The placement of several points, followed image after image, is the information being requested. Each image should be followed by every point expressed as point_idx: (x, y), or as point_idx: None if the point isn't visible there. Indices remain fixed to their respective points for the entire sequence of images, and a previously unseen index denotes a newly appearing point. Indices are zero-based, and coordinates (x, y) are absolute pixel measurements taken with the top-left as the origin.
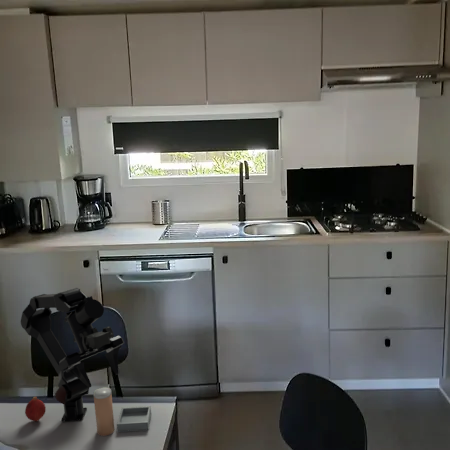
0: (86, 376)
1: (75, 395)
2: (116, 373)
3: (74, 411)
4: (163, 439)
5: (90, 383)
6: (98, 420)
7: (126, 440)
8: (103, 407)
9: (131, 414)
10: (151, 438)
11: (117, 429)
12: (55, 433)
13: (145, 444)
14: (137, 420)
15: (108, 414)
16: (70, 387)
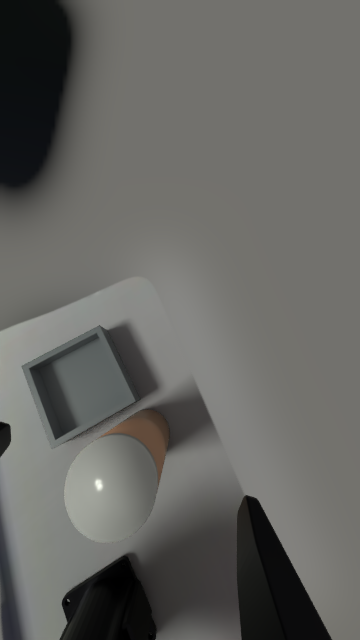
0: (300, 628)
1: None
2: (3, 437)
3: (132, 608)
4: (127, 279)
5: (253, 517)
6: (166, 449)
7: (161, 353)
8: (155, 437)
9: (61, 409)
10: (133, 304)
11: (138, 398)
12: (217, 589)
13: (157, 304)
14: (84, 374)
15: (146, 421)
16: None
